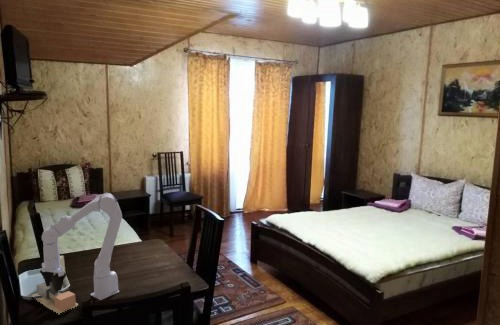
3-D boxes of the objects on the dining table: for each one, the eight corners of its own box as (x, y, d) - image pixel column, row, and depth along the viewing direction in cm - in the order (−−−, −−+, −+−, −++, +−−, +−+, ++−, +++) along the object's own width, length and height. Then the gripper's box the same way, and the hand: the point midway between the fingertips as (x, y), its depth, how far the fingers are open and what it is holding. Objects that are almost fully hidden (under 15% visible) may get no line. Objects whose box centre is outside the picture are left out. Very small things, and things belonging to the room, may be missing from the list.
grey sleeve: (47, 290, 166) (46, 281, 165) (56, 296, 161) (55, 286, 160) (37, 294, 162) (36, 285, 162) (46, 299, 158) (45, 290, 157)
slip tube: (46, 290, 164) (44, 274, 163) (63, 300, 155) (62, 283, 154) (40, 292, 162) (39, 276, 161) (57, 302, 154) (56, 286, 153)
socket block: (69, 301, 156) (68, 290, 156) (75, 305, 153) (75, 294, 153) (54, 307, 152) (54, 296, 151) (61, 311, 149) (60, 300, 148)
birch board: (50, 290, 168) (50, 288, 168) (78, 306, 154) (78, 304, 154) (31, 297, 162) (31, 295, 161) (58, 314, 148) (58, 312, 148)
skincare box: (66, 280, 179) (64, 255, 177) (61, 284, 174) (60, 259, 173) (52, 280, 178) (50, 255, 177) (48, 284, 174) (46, 259, 172)
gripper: (33, 255, 156) (35, 286, 158) (50, 263, 148) (52, 296, 149) (50, 250, 162) (52, 280, 164) (68, 258, 153) (70, 290, 155)
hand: (54, 288), depth 157 cm, fingers open, 7 cm apart
